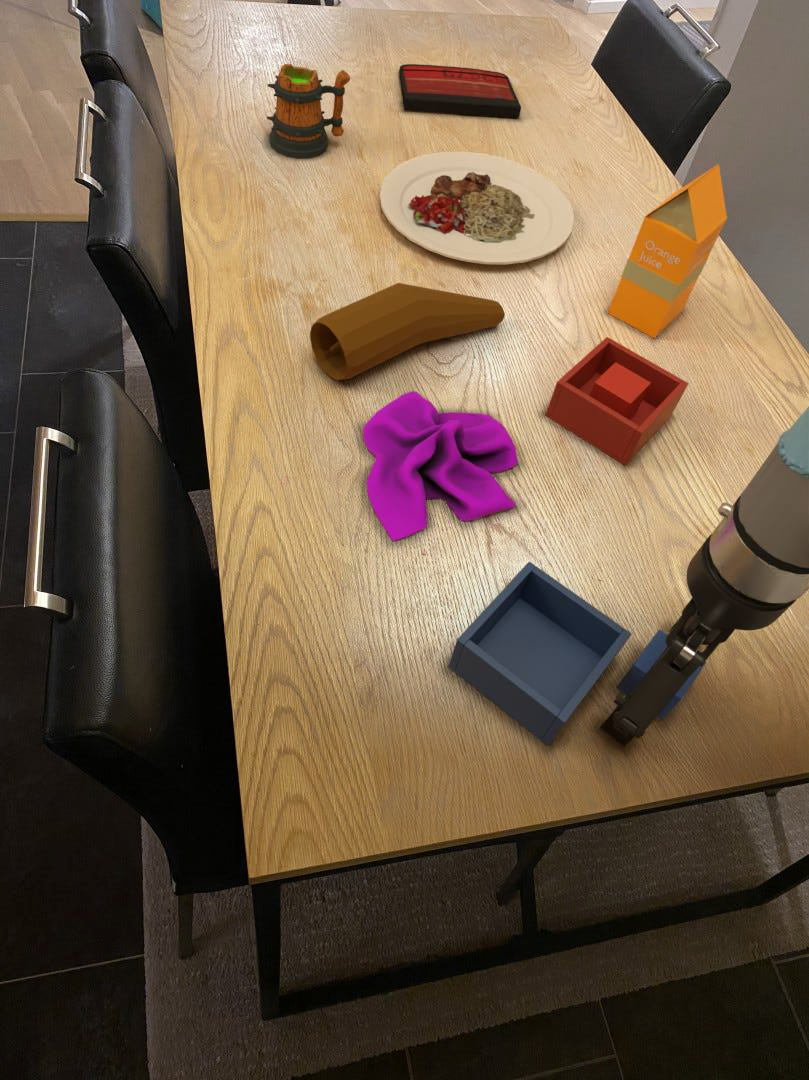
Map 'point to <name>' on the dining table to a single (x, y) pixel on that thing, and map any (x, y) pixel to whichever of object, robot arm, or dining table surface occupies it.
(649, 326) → the orange juice
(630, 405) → the red block
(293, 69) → the mug
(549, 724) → the blue bin
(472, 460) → the cloth
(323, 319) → the horn
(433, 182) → the plated food
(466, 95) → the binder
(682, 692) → the blue block
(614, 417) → the red bin
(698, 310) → the dining table surface
